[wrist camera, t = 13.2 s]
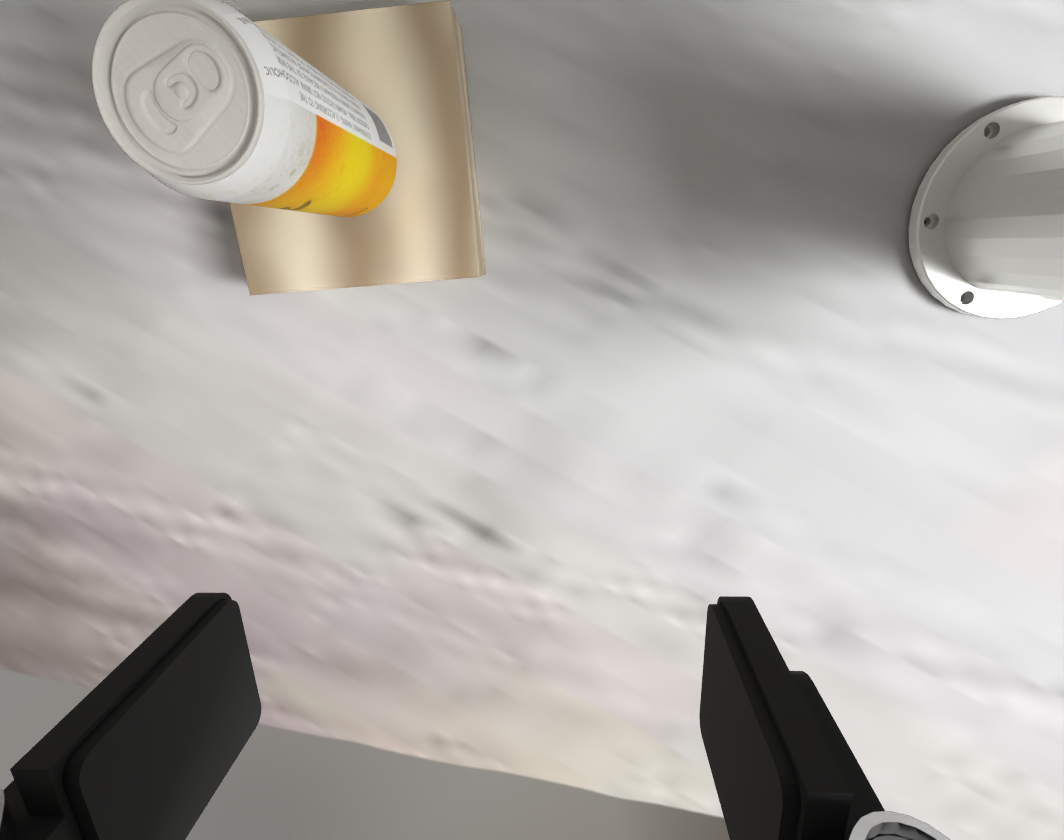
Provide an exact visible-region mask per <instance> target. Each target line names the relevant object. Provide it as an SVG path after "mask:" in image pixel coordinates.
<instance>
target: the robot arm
mask: <svg viewBox="0 0 1064 840" xmlns="http://www.w3.org/2000/svg"><path fill="white" fill-rule="evenodd" d="M925 219H926V223H925V225H924V221H925ZM909 250H910V254H911V258H912V262H913V266H914V268H915V270H916V272H917V275H918V277H919V279H920V281H921V282H922V284H923V285H924V286H925V287H926V289H927V290H928V291H929V292H930V294H931V295H932V296H933V297H935V298H936V299H937V300H939V301H940V302H941V303H943V304H944V305H945V306H947V307H949V308H951V309H954V310H956V311H958V312H960V313H963V314H968V315H972V316H976V317H983V318H991V319H1008V318H1019V317H1023V316H1027V315H1031V314H1035V313H1038V312H1041V311H1043V310H1045V309H1048V308H1050V307H1052V306H1055V305H1057V304H1059V303H1060V302H1064V96H1045V97H1040V98H1034V99H1029V100H1024V101H1021V102H1017V103H1014V104H1011V105H1008V106H1005V107H1002V108H1000V109H998V110H996V111H994V112H992V113H989V114H987V115H985V116H983V117H981V118H980V119H978V120H977V121H975V122H974V123H973V124H971V125H970V126H968V127H967V128H966V129H964V130H963V131H961V132H960V133H959V134H958V135H957V136H956V137H955V138H954V139H953V140H952V141H951V142H950V143H949V144H948V145H947V146H946V147H945V148H944V149H943V150H942V151H941V153H940V154H939V155H938V157H937V158H936V159H935V161H934V162H933V163H932V165H931V166H930V167H929V169H928V171H927V173H926V175H925V177H924V179H923V180H922V182H921V184H920V186H919V188H918V191H917V194H916V197H915V200H914V203H913V206H912V210H911V216H910V222H909ZM260 715H261V703H260V698H259V694H258V689H257V685H256V680H255V676H254V671H253V667H252V662H251V658H250V653H249V649H248V645H247V640H246V636H245V631H244V627H243V622H242V618H241V613H240V609H239V605H238V603H237V602H236V601H233V600H232V599H231V597H230V596H229V595H228V594H226V593H196V594H194V595H192V596H191V597H190V598H189V599H188V600H187V601H186V602H185V603H184V604H182V605H181V606H180V607H179V608H178V609H177V610H176V611H175V612H174V613H173V614H172V615H171V616H170V617H169V618H168V619H167V620H166V621H165V622H164V623H163V624H162V625H160V626H159V627H158V628H157V629H156V630H155V631H154V632H153V633H152V634H151V635H150V636H149V637H148V638H147V639H146V640H145V641H144V642H143V643H142V644H141V645H140V646H139V647H137V648H136V649H135V650H134V651H133V652H132V653H131V654H130V655H129V656H128V657H127V658H126V659H125V660H124V661H123V662H122V663H121V664H120V665H119V666H118V667H117V668H115V669H114V670H113V671H112V672H111V673H110V674H109V675H108V676H107V677H106V678H105V679H104V680H103V681H102V682H101V683H100V684H99V685H98V686H97V687H96V688H95V689H94V690H92V691H91V692H90V693H89V694H88V695H87V696H86V697H85V698H84V699H83V700H82V701H81V702H80V703H79V704H78V705H77V706H76V707H75V708H74V709H73V710H72V711H70V712H69V713H68V715H66V716H65V717H64V718H63V719H62V720H61V721H60V722H59V723H58V724H57V725H56V726H55V727H54V728H53V729H52V730H51V731H50V732H48V733H47V734H46V735H45V736H44V737H43V738H42V739H41V740H40V741H39V742H38V743H37V744H36V745H35V746H34V747H33V748H32V749H31V750H30V751H29V752H28V753H27V754H26V755H24V756H23V757H22V758H21V759H20V760H19V761H18V762H17V763H16V764H15V765H14V766H13V767H12V768H11V769H10V770H11V772H12V775H13V777H14V781H12V782H11V783H10V784H9V785H8V786H7V787H6V788H5V789H4V790H2V789H1V788H0V840H185V839H186V837H187V836H188V834H189V832H190V831H191V829H192V828H193V826H194V825H195V823H196V821H197V820H198V818H199V817H200V815H201V813H202V812H203V810H204V809H205V807H206V806H207V804H208V802H209V801H210V799H211V798H212V796H213V795H214V793H215V791H216V790H217V788H218V787H219V785H220V783H221V782H222V780H223V779H224V777H225V775H226V774H227V772H228V771H229V769H230V768H231V766H232V764H233V763H234V761H235V760H236V758H237V757H238V755H239V753H240V752H241V750H242V749H243V747H244V746H245V744H246V742H247V741H248V739H249V738H250V736H251V734H252V733H253V731H254V730H255V728H256V726H257V724H258V722H259V719H260ZM700 728H701V734H702V738H703V742H704V746H705V749H706V753H707V757H708V760H709V764H710V768H711V771H712V775H713V779H714V782H715V786H716V790H717V793H718V797H719V801H720V804H721V808H722V812H723V815H724V819H725V822H726V826H727V830H728V833H729V837H730V840H950V839H949V838H948V837H947V836H945V835H944V834H942V833H941V832H939V831H938V830H936V829H935V828H933V827H932V826H930V825H929V824H927V823H925V822H922V821H920V820H918V819H916V818H913V817H911V816H909V815H905V814H901V813H896V812H892V811H885V810H884V808H883V807H882V805H881V803H880V801H879V799H878V798H877V796H876V794H875V792H874V790H873V789H872V787H871V785H870V783H869V782H868V780H867V778H866V776H865V774H864V773H863V771H862V769H861V767H860V765H859V764H858V762H857V760H856V758H855V756H854V755H853V753H852V751H851V749H850V747H849V746H848V744H847V742H846V740H845V738H844V737H843V735H842V733H841V731H840V729H839V728H838V726H837V724H836V722H835V721H834V719H833V717H832V715H831V713H830V712H829V710H828V708H827V706H826V704H825V703H824V701H823V699H822V697H821V695H820V694H819V692H818V690H817V688H816V686H815V685H814V683H813V681H812V680H811V678H810V677H809V675H808V674H806V673H805V672H803V671H789V669H788V667H787V665H786V663H785V661H784V659H783V658H782V656H781V654H780V652H779V650H778V648H777V646H776V644H775V642H774V640H773V638H772V636H771V634H770V632H769V630H768V629H767V627H766V625H765V623H764V621H763V619H762V617H761V615H760V613H759V611H758V609H757V607H756V605H755V603H754V601H753V600H752V599H751V598H750V597H719V599H718V602H717V604H710V605H709V606H708V611H707V624H706V637H705V650H704V664H703V677H702V690H701V703H700Z"/></svg>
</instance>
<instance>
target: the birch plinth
mask: <svg viewBox="0 0 1064 840" xmlns="http://www.w3.org/2000/svg"><path fill="white" fill-rule="evenodd" d="M254 23H255V24H256V25H258V26H259V27H260V28H262V29H263V30H264V31H266V32H267V33H269V34H270V35H271V36H273V37H274V38H275V39H277V40H278V41H279V42H281V43H282V44H284V45H285V46H286V47H288V48H289V49H290V50H292V51H293V52H294V53H296V54H297V55H299V56H300V57H301V58H303V59H304V60H305V61H307V62H308V63H309V64H311V65H312V66H314V67H315V68H316V69H318V70H319V71H320V72H322V73H323V74H324V75H326V76H327V77H328V78H330V79H331V80H333V81H334V82H335V83H337V84H338V85H339V86H341V87H342V88H343V89H345V90H346V91H348V92H349V93H350V94H352V95H353V96H354V97H356V98H357V99H358V100H360V101H361V102H363V103H364V104H365V105H367V106H368V107H369V108H371V109H372V110H373V111H374V112H375V113H376V114H377V115H378V116H379V117H380V118H381V119H382V121H383V122H384V123H385V125H386V126H387V128H388V130H389V132H390V134H391V136H392V139H393V142H394V145H395V150H396V157H397V168H396V175H395V179H394V183H393V185H392V188H391V190H390V192H389V193H388V195H387V197H386V198H385V199H384V200H383V202H382V203H381V204H380V205H379V206H377V207H376V208H375V209H373V210H372V211H370V212H368V213H366V214H363V215H360V216H356V217H338V216H331V215H323V214H315V213H307V212H299V211H292V210H284V209H276V208H268V207H260V206H253V205H245V204H237V203H230V208H231V212H232V217H233V221H234V226H235V230H236V235H237V239H238V243H239V248H240V252H241V257H242V261H243V266H244V270H245V275H246V279H247V284H248V288H249V293H250V295H260V294H272V293H285V292H298V291H310V290H323V289H335V288H348V287H360V286H373V285H385V284H398V283H410V282H423V281H435V280H448V279H460V278H473V277H479V276H482V275H484V274H486V270H485V260H484V250H483V240H482V230H481V220H480V210H479V200H478V190H477V180H476V170H475V160H474V150H473V140H472V130H471V120H470V110H469V100H468V90H467V80H466V70H465V60H464V51H463V41H462V31H461V26H460V24H459V22H458V20H457V17H456V15H455V13H454V10H453V8H452V6H451V3H450V1H449V0H446V1H437V2H428V3H419V4H410V5H401V6H392V7H383V8H374V9H365V10H355V11H346V12H337V13H328V14H319V15H310V16H301V17H292V18H283V19H274V20H265V21H255V22H254Z"/></svg>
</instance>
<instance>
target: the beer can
mask: <svg viewBox="0 0 1064 840" xmlns="http://www.w3.org/2000/svg"><path fill="white" fill-rule="evenodd" d="M92 84H93V90H94V95H95V99H96V103H97V106H98V109H99V112H100V114H101V117H102V119H103V121H104V123H105V125H106V127H107V129H108V130H109V132H110V134H111V135H112V137H113V138H114V140H115V141H116V142H117V144H118V145H119V146H120V147H121V149H122V150H123V151H124V152H125V153H126V154H127V155H128V156H129V157H130V158H131V159H132V160H133V161H135V162H136V163H137V164H138V165H140V166H141V167H142V168H144V169H145V170H146V171H147V172H148V173H150V174H151V175H152V176H153V177H154V178H156V179H157V180H158V181H159V182H161V183H163V184H164V185H166V186H167V187H169V188H171V189H173V190H175V191H177V192H179V193H182V194H184V195H187V196H190V197H194V198H198V199H206V200H214V201H221V202H229V203H237V204H245V205H253V206H260V207H268V208H276V209H284V210H292V211H299V212H307V213H315V214H323V215H331V216H338V217H356V216H360V215H363V214H366V213H368V212H370V211H372V210H373V209H375V208H376V207H377V206H379V205H380V204H381V203H382V202H383V200H384V199H385V198H386V197H387V195H388V193H389V192H390V190H391V188H392V185H393V183H394V179H395V175H396V168H397V157H396V150H395V145H394V142H393V139H392V136H391V134H390V132H389V130H388V128H387V126H386V125H385V123H384V122H383V121H382V119H381V118H380V117H379V116H378V115H377V114H376V113H375V112H374V111H373V110H372V109H371V108H369V107H368V106H367V105H365V104H364V103H363V102H361V101H360V100H358V99H357V98H356V97H354V96H353V95H352V94H350V93H349V92H348V91H346V90H345V89H343V88H342V87H341V86H339V85H338V84H337V83H335V82H334V81H333V80H331V79H330V78H328V77H327V76H326V75H324V74H323V73H322V72H320V71H319V70H318V69H316V68H315V67H314V66H312V65H311V64H309V63H308V62H307V61H305V60H304V59H303V58H301V57H300V56H299V55H297V54H296V53H294V52H293V51H292V50H290V49H289V48H288V47H286V46H285V45H284V44H282V43H281V42H279V41H278V40H277V39H275V38H274V37H273V36H271V35H270V34H269V33H267V32H266V31H264V30H263V29H262V28H260V27H259V26H258V25H256V24H255V23H254V22H252V21H251V20H249V19H248V18H247V17H245V16H244V15H243V14H241V13H240V12H238V11H237V10H236V9H234V8H233V7H231V6H230V5H228V4H226V3H224V2H222V1H220V0H128V1H126V2H124V3H123V4H122V5H120V6H119V7H118V8H117V9H116V10H115V11H114V12H113V13H112V14H111V15H110V16H109V17H108V19H107V20H106V21H105V23H104V25H103V26H102V28H101V30H100V32H99V35H98V37H97V40H96V43H95V47H94V51H93V58H92Z"/></svg>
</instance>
